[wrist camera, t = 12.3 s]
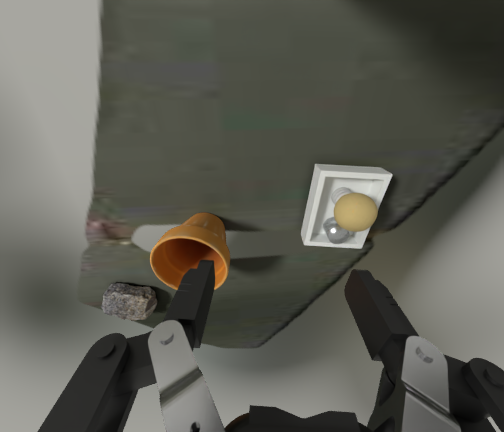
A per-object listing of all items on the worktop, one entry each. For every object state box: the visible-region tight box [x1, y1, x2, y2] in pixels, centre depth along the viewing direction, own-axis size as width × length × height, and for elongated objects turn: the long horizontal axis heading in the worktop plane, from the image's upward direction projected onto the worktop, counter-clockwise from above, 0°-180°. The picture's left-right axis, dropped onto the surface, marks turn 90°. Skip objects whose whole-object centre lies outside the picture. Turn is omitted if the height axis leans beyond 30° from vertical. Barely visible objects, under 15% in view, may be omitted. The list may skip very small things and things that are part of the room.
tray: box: [301, 164, 393, 249], centre depth 40 cm, size 16×12×6 cm
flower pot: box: [150, 213, 230, 290], centre depth 41 cm, size 14×14×13 cm
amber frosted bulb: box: [331, 187, 378, 232], centre depth 34 cm, size 6×6×10 cm
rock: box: [101, 283, 158, 321], centre depth 58 cm, size 13×6×15 cm
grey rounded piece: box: [323, 217, 350, 244], centre depth 40 cm, size 4×4×4 cm
